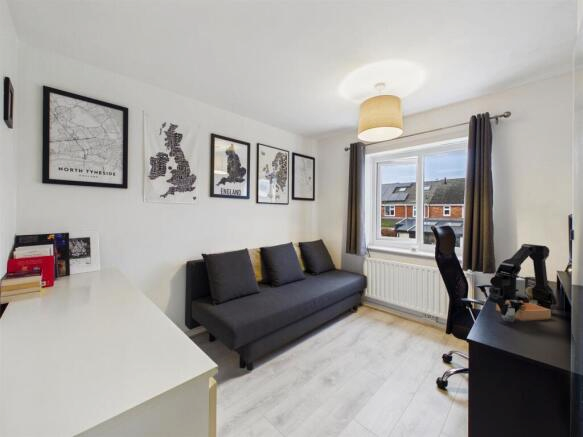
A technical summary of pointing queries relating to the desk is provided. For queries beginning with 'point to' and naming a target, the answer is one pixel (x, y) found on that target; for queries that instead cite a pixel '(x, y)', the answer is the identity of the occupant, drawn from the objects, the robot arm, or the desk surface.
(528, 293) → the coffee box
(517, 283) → the supplement box
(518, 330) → the desk surface
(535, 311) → the tote
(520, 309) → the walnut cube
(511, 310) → the grey cylinder
